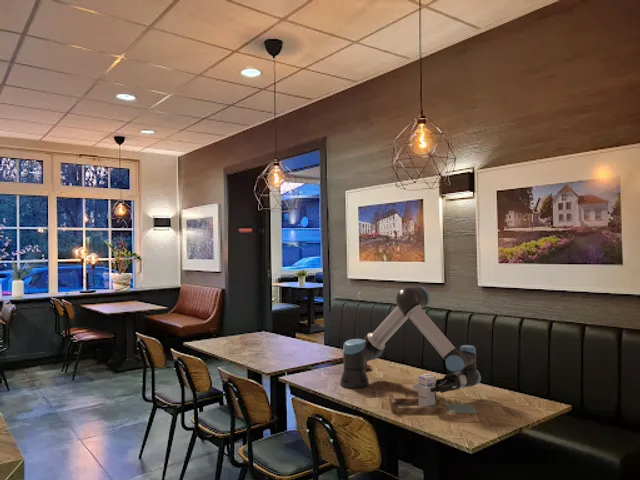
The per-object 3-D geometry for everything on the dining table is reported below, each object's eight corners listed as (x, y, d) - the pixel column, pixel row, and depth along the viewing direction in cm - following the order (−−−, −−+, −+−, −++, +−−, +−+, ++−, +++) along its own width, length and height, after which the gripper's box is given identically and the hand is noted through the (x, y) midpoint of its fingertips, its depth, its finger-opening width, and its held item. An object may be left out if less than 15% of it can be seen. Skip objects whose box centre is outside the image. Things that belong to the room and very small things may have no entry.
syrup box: (426, 410, 220) (426, 377, 220) (418, 406, 225) (418, 374, 225) (436, 408, 223) (436, 375, 223) (428, 404, 228) (427, 373, 228)
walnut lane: (392, 413, 217) (392, 402, 217) (389, 403, 232) (389, 392, 232) (446, 414, 216) (446, 402, 216) (439, 403, 231) (439, 392, 231)
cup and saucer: (369, 372, 292) (369, 361, 292) (349, 371, 295) (349, 360, 295) (371, 367, 304) (371, 357, 304) (352, 366, 306) (352, 356, 307)
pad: (450, 412, 217) (450, 412, 217) (444, 404, 229) (444, 403, 229) (478, 413, 217) (478, 412, 217) (471, 404, 229) (471, 404, 229)
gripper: (470, 394, 226) (434, 403, 213) (439, 384, 242) (404, 392, 229) (470, 377, 226) (434, 385, 213) (439, 369, 242) (404, 376, 229)
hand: (419, 389), depth 221 cm, fingers closed on syrup box, 6 cm apart
